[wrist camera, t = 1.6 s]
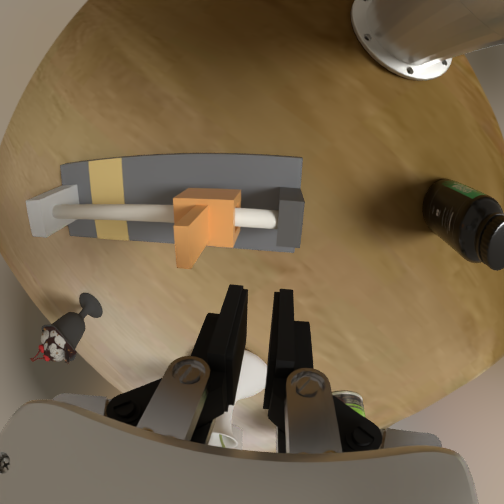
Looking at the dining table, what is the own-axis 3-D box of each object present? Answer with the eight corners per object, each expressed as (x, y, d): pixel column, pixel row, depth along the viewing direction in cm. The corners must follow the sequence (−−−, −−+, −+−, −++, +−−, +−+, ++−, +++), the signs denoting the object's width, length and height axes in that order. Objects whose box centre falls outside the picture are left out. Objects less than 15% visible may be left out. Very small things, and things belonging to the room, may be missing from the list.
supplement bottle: (431, 169, 25) (498, 195, 14) (469, 190, 25) (533, 223, 14) (412, 222, 27) (467, 272, 17) (451, 239, 28) (505, 287, 17)
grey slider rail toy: (301, 157, 26) (309, 167, 19) (293, 247, 30) (296, 287, 23) (67, 163, 29) (22, 177, 21) (76, 231, 33) (37, 257, 25)
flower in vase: (189, 368, 41) (141, 502, 19) (215, 327, 37) (159, 499, 14) (257, 397, 43) (239, 528, 20) (294, 362, 38) (289, 524, 16)
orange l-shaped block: (241, 189, 24) (219, 220, 16) (240, 230, 26) (220, 278, 18) (188, 187, 25) (145, 216, 17) (190, 227, 26) (151, 271, 18)
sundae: (70, 295, 38) (18, 350, 25) (88, 282, 36) (30, 343, 23) (92, 325, 41) (48, 383, 27) (113, 315, 39) (64, 381, 25)
